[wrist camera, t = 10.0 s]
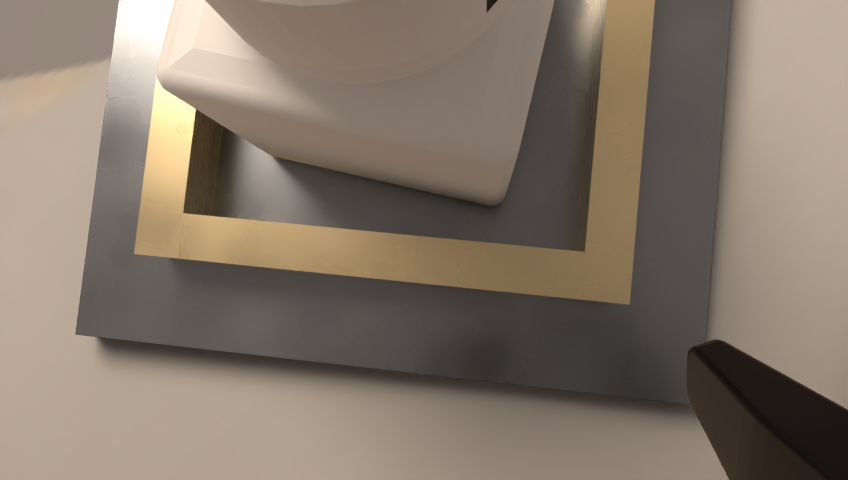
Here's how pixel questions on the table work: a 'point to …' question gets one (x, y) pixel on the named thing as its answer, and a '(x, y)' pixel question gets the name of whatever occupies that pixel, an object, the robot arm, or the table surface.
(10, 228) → the table surface
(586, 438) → the table surface
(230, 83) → the medicine bottle
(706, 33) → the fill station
